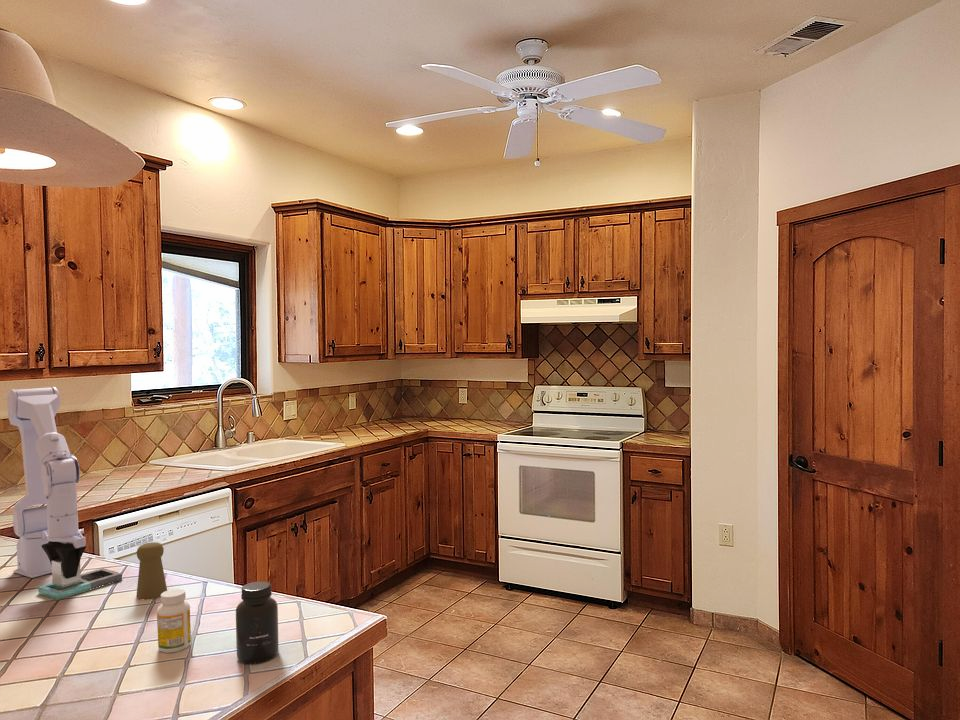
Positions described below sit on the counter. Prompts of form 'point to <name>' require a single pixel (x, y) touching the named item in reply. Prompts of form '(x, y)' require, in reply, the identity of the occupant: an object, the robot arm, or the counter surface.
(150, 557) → the cork
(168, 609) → the supplement bottle
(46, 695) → the counter surface
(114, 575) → the grey teal tray
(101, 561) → the counter surface
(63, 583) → the beige rectangular block
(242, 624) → the supplement bottle
